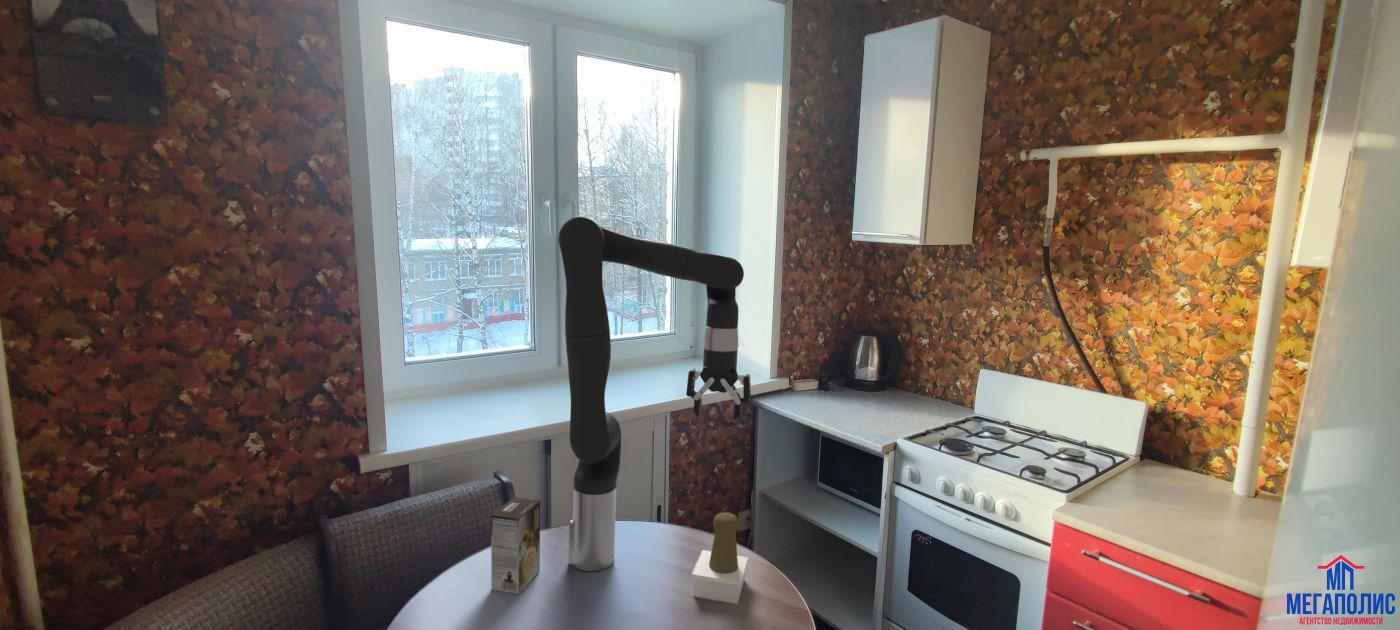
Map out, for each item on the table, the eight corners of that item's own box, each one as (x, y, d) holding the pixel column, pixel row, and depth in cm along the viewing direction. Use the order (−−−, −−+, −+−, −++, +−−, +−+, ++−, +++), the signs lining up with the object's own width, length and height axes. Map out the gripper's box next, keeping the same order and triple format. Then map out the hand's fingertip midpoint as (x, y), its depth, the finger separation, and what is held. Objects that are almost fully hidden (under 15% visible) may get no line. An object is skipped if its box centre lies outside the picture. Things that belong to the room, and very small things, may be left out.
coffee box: (512, 567, 131) (513, 495, 129) (540, 571, 130) (541, 499, 128) (490, 590, 122) (490, 514, 120) (519, 595, 121) (520, 518, 119)
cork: (716, 555, 130) (718, 506, 129) (742, 562, 128) (745, 513, 127) (704, 568, 125) (706, 517, 124) (731, 576, 122) (734, 524, 121)
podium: (690, 597, 123) (691, 574, 123) (701, 571, 133) (702, 550, 132) (739, 606, 121) (740, 582, 121) (746, 579, 131) (748, 557, 130)
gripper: (685, 346, 134) (682, 418, 136) (750, 352, 131) (745, 426, 133) (693, 341, 141) (690, 409, 143) (755, 346, 138) (750, 416, 140)
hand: (717, 417), depth 138 cm, fingers open, 8 cm apart
